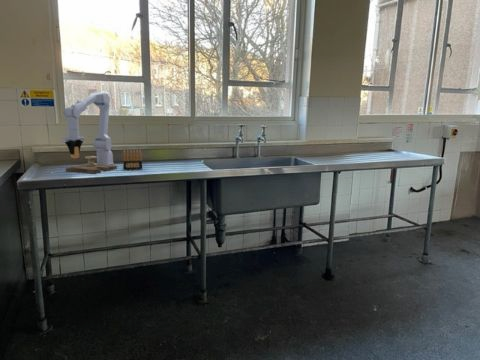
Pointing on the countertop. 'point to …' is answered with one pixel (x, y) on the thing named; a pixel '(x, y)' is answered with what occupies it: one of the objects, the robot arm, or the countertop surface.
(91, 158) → the mushroom shaped handle
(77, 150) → the block
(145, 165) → the countertop surface
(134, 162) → the ammunition clip
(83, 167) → the notched board
